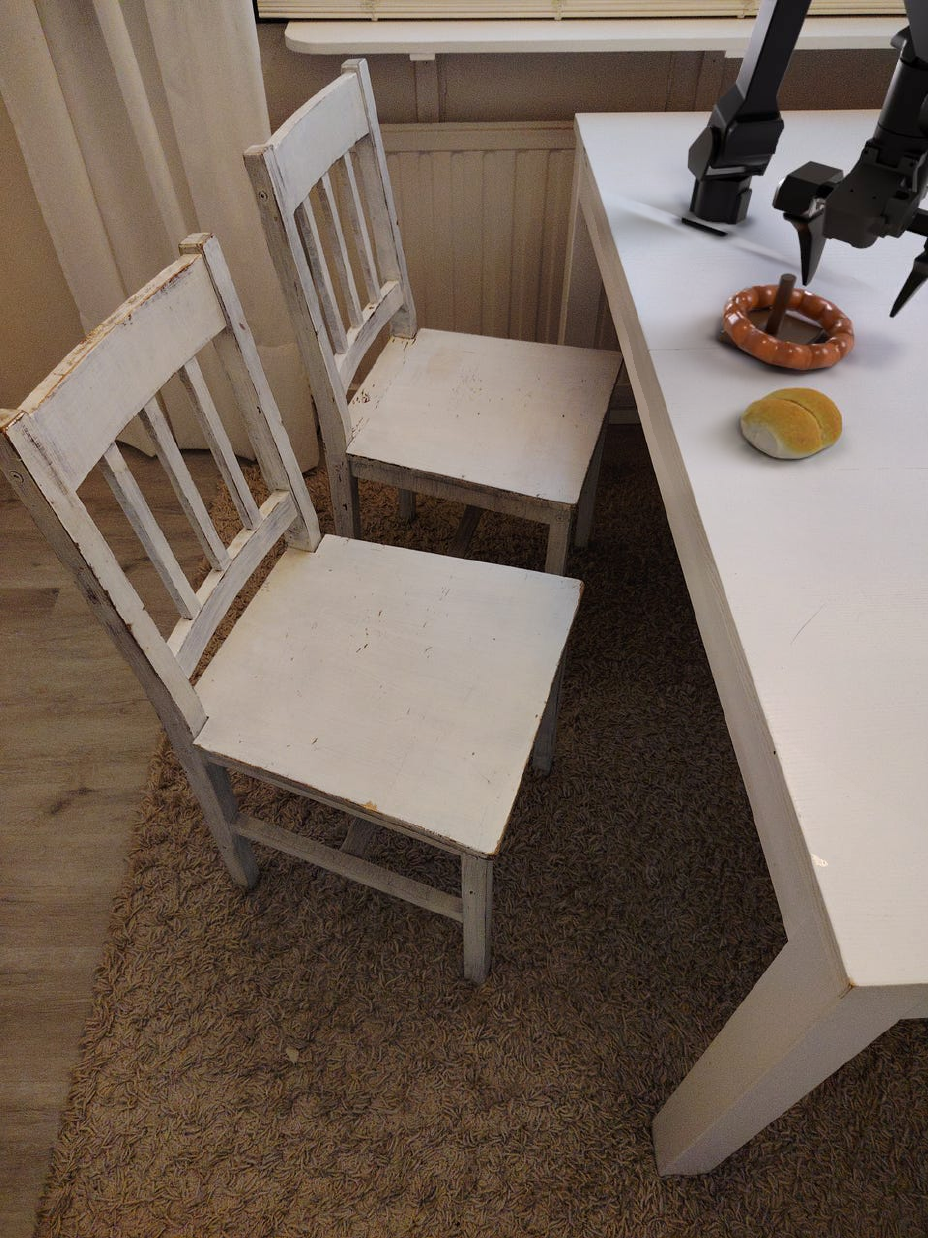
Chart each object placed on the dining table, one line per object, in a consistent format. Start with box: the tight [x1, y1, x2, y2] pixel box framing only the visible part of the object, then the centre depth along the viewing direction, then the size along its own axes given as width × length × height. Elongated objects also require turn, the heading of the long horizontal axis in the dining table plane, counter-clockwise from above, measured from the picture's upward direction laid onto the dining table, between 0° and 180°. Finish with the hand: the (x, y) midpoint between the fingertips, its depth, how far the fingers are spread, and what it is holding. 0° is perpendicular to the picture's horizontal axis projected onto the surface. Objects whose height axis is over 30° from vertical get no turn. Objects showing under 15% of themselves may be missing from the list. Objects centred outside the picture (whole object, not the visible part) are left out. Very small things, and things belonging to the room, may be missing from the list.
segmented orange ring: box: [722, 283, 856, 371], centre depth 85 cm, size 14×14×2 cm
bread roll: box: [740, 387, 843, 460], centre depth 75 cm, size 8×9×4 cm
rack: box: [718, 272, 825, 368], centre depth 85 cm, size 8×8×7 cm
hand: (848, 299), depth 79 cm, fingers open, 9 cm apart
